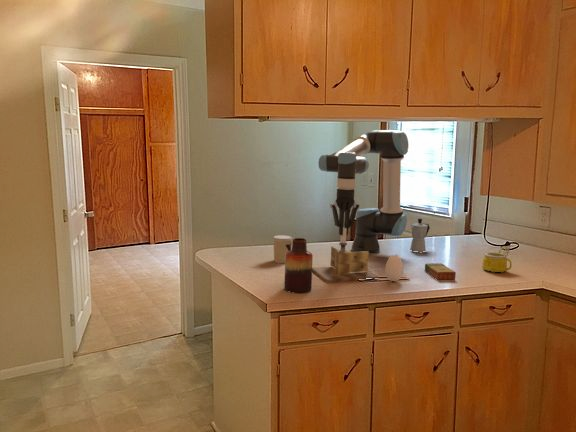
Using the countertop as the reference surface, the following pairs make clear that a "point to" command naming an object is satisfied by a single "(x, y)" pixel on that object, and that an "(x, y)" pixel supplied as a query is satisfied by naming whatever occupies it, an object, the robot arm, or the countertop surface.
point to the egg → (394, 268)
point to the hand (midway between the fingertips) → (343, 242)
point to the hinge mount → (345, 267)
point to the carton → (440, 271)
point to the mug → (496, 261)
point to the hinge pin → (342, 246)
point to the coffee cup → (281, 247)
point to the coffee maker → (419, 236)
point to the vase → (298, 267)
